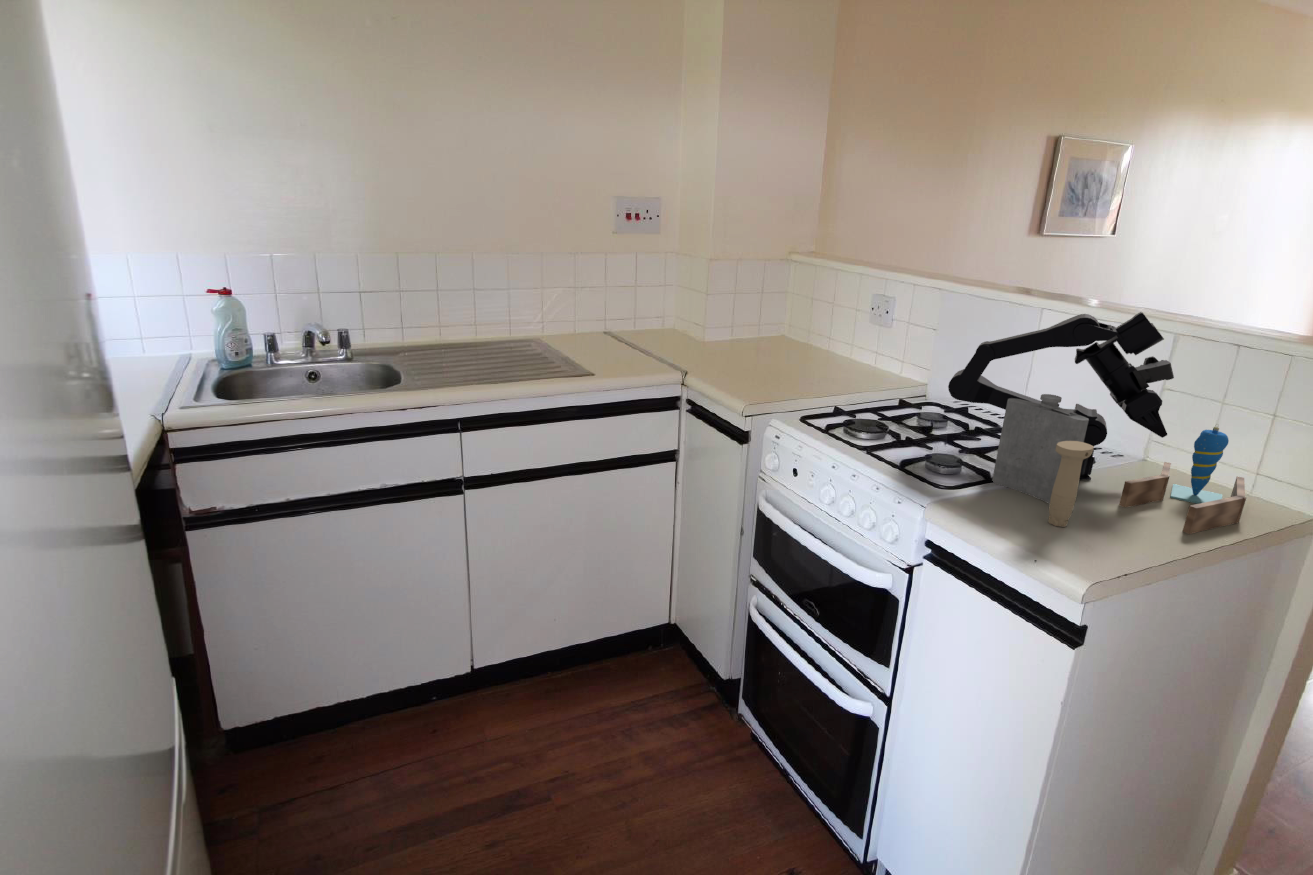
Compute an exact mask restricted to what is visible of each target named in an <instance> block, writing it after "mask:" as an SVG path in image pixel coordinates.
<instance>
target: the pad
mask: <svg viewBox="0 0 1313 875" xmlns="http://www.w3.org/2000/svg"><path fill="white" fill-rule="evenodd" d="M1169 498H1170V499H1175V500H1179V501H1184V502H1187V503H1193V504H1200V503H1205V502H1210V501H1214V500H1219V499H1223V493H1218V492H1212V491H1208V490H1204V489H1202V490H1201V491H1200V492H1199V494H1198V495H1194V494H1193V490H1192V487H1189V486H1185V485H1179V484H1176V483H1175V484H1174V483H1173V484H1172V487H1171V492H1170V497H1169Z"/></svg>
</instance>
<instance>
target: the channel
mask: <svg viewBox="0 0 1313 875" xmlns="http://www.w3.org/2000/svg"><path fill="white" fill-rule="evenodd" d="M1171 465H1172V463H1171V462H1166V461H1164V462H1163V465H1162V469H1161V472H1160V473H1161V474H1158V475H1153V476H1147V477H1141V478H1135V479H1130V480H1129V479H1128V480H1125V481H1124V484H1123V488H1122V492H1121V496H1120V499H1119V504H1118V506H1120V507H1122V508H1124V509H1125V508H1129V507H1135V506H1139V505H1145V504H1149V503H1153V502H1155V503H1156V502H1159V501H1160V502H1162V501H1164V497H1165V495H1166V491H1167V488H1168V484H1169V480H1170V476H1169V474H1170V469H1171ZM1245 485H1246V484H1245V477H1242V476H1236V478H1235V481H1234V485H1233V488H1232V490H1231V495H1230V497H1224V498H1222V499H1219V500H1214V501H1210V502H1205V503H1200V504H1196V503H1194V504H1191V505H1189V507H1188V510H1187V514H1186V517H1185V520H1184V524H1183V528H1182V532H1183V533H1185V534H1188V535H1191V534H1195V533H1199V532H1203V531H1207V530H1208V531H1209V530H1212V529H1213V530H1214V529H1218V528H1221V527H1224V526H1225V527H1226V526H1228V525H1233V524H1234V525H1235V524H1238V523H1240V520H1241V516H1242V514H1243V510H1244V508H1245V504H1246V501H1247V497H1246V489H1245V488H1246V486H1245Z"/></svg>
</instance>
